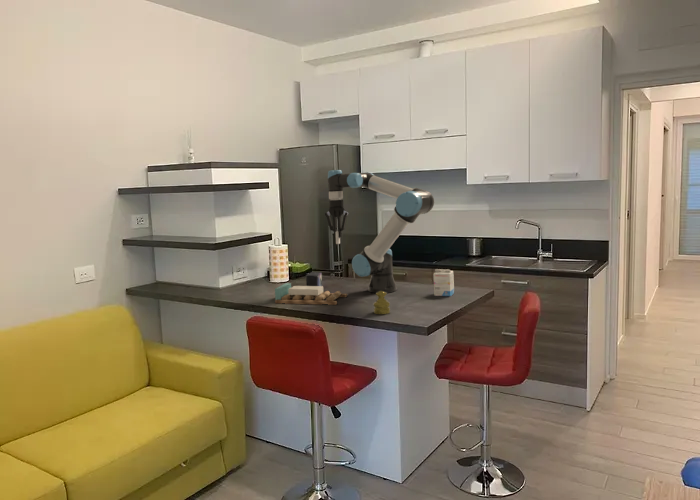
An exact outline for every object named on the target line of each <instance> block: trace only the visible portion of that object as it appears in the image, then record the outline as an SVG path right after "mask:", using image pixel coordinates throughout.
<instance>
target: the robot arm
mask: <svg viewBox="0 0 700 500" xmlns="http://www.w3.org/2000/svg"><path fill="white" fill-rule="evenodd" d="M327 184H328V207H329V209H328V211H327V212H325V213H324V216H325V217H326V219H327V223H328V227H329V230H330V231H332V232H333V238H335V244H336V245H340V244H341V238H342V236H343V235H342V232H343V231H344V230H346V223H347V218H348V216H349V214H350V213H349V212H348V211H347V210H346V211H345V207H344V200H343V199H344V194H343V193H344V189H350V188H351V189H355V188H356V189H357V188H365V189H368V190H371V191H374V192H377V193H379V194H383V195H386V196H387V197H391V198H394V199H396V201H395V206H394V208H393V211H394V213H393V215H392V216H391V217H390V218H389V220H388V221H387V222H386V224H385V225H384V226H383V228H382V229H381V230H380V232H378V234H377V236H376V237H375V238H374V240H373V241H372V243H371V244H369V245H366V246H365V247H364V248H363V250H362V251H361V252H360V253H357V254H356V255H354V256H353V258H352V260H351V265H352V270H353V272H354V273H355V274H356V275H357V276H358V277H362V278H363V277H368V276H370V280H369V283H368V292H370V293H374V294H376V293H377V292H379V291H383V292H386V293H387V294H388V293H392V292H393V293H394V292H396V291H397V284H396V281H395V279H394V273H393V272H394V270H393V251H392V249H391V247H392V246H393V244H394V243H395V241H396V240H397V239H398V238H399V236H400V235H401V234H402V232H404V230H405V229H406V228H407V226H408V225H409V224H413V223H414V222H415V221H416V219H418V218H419V216H420V215H423V214H424V215H425V214H428V213H429V212H430V211H431V210H433V208H434V206H435V199H434V196H433V194H432V193H431V192H430V191H428V190H425V189H421V188H419V187H414V188H412V187H410V186H406V185H404V184H401V183H397V182H395V181H392V180H388V179H385V178H382V177H379V176H377V175H375V174H373V173H372V172H367V171H366V172H350V173H349V172H346V173H343V171H342V170H341V169H332V170H328V172H327ZM331 216H332V218H331ZM342 216H343V218H342Z"/></svg>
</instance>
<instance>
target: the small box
mask: <svg viewBox="0 0 700 500" xmlns="http://www.w3.org/2000/svg"><path fill="white" fill-rule="evenodd" d="M322 278H323V274H322V272H321V271H320V272H318V271H310V272H309V273H308V274H306V275H305V281H306V282H305V283H306V284H305V286H323V279H322Z"/></svg>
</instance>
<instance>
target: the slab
mask: <svg viewBox="0 0 700 500" xmlns="http://www.w3.org/2000/svg"><path fill="white" fill-rule="evenodd" d="M288 291H289V295H320V294H321V293H324V286H323V285H322V286H306V285H293V286H291V288H289V289H288Z"/></svg>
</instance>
